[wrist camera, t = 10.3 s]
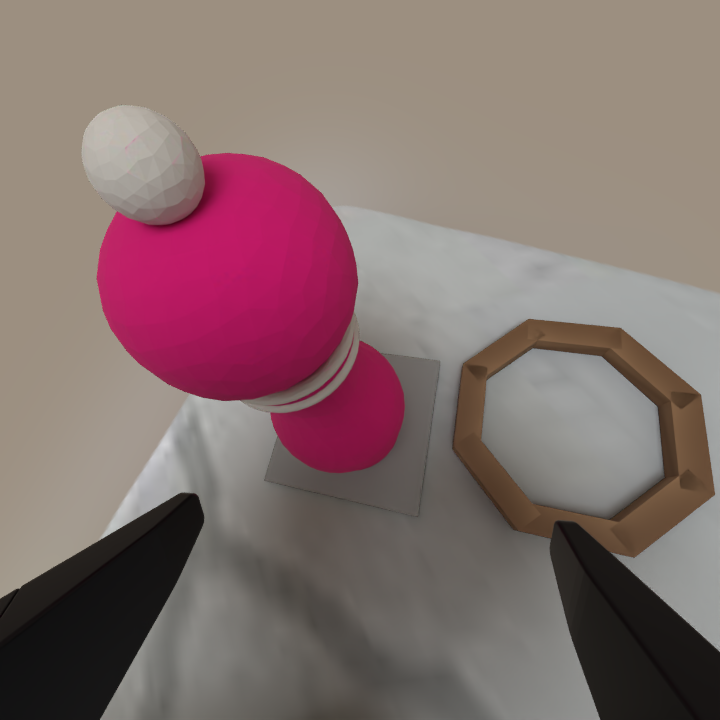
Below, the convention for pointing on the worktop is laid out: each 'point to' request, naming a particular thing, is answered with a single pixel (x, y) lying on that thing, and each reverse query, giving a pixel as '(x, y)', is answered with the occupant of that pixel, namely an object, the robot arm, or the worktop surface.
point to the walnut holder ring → (653, 378)
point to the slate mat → (394, 472)
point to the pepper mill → (239, 288)
